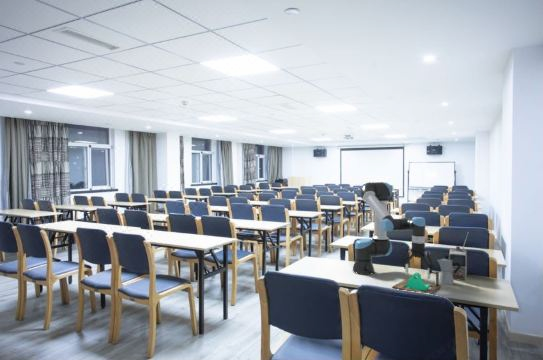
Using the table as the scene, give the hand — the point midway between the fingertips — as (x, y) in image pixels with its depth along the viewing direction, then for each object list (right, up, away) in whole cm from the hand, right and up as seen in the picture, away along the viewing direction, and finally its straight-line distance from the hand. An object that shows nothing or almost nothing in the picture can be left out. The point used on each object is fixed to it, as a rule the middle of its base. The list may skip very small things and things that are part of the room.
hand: (417, 276), depth 226 cm
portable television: (+38, -7, +25) cm, 46 cm away
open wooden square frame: (-1, -7, 0) cm, 7 cm away
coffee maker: (+24, -7, +10) cm, 27 cm away
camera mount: (0, -8, -1) cm, 8 cm away
